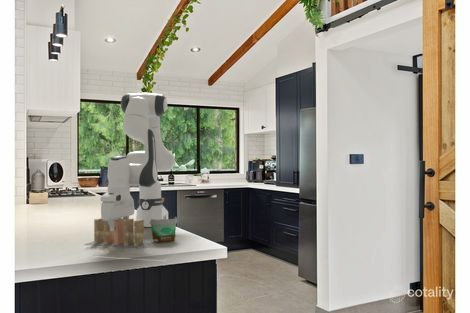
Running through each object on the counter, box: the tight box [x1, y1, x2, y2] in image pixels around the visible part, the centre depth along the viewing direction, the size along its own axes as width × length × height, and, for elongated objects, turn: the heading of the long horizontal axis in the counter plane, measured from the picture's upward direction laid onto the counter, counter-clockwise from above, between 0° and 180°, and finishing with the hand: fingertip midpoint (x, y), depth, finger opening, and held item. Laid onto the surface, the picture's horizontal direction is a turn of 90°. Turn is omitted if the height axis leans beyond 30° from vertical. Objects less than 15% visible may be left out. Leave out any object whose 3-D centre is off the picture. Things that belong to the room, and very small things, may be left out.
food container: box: [150, 216, 179, 244], centre depth 173 cm, size 12×6×10 cm, turn 126°
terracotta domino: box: [114, 218, 124, 245], centre depth 169 cm, size 2×5×10 cm, turn 166°
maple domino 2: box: [104, 221, 114, 245], centre depth 170 cm, size 2×5×10 cm, turn 165°
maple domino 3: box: [124, 218, 135, 246], centre depth 168 cm, size 2×5×10 cm, turn 165°
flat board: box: [83, 241, 154, 249], centre depth 169 cm, size 10×26×1 cm, turn 75°
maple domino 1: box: [93, 217, 104, 244], centre depth 171 cm, size 2×5×10 cm, turn 165°
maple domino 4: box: [134, 219, 145, 246], centre depth 167 cm, size 2×5×10 cm, turn 165°
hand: (118, 229), depth 169 cm, fingers open, 8 cm apart
